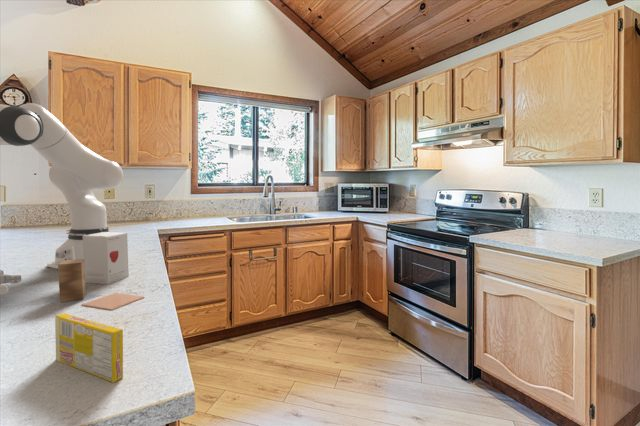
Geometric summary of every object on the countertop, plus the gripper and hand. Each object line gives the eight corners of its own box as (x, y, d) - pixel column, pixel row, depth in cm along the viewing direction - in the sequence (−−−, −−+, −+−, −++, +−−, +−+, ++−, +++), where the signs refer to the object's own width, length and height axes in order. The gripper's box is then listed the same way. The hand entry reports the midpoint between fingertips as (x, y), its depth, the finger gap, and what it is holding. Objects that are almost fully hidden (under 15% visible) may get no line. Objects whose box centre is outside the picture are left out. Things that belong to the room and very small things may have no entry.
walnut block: (60, 302, 92) (57, 264, 91) (64, 296, 96) (62, 260, 95) (83, 299, 94) (81, 262, 93) (86, 294, 98) (84, 258, 97)
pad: (82, 306, 90) (81, 304, 90) (116, 294, 99) (116, 292, 99) (112, 311, 87) (111, 309, 87) (144, 298, 96) (144, 296, 96)
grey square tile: (44, 302, 92) (43, 301, 92) (77, 292, 101) (77, 291, 101) (69, 307, 89) (68, 306, 89) (101, 296, 98) (101, 295, 98)
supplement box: (108, 285, 108) (106, 236, 107) (83, 283, 110) (81, 235, 109) (130, 277, 117) (128, 232, 116) (106, 275, 119) (104, 231, 118)
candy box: (125, 377, 58) (123, 328, 57) (113, 384, 56) (110, 333, 56) (67, 355, 65) (65, 311, 65) (54, 360, 63) (52, 315, 63)
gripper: (-88, 289, 74) (-2, 281, 80) (-42, 267, 92) (25, 262, 98) (-86, 319, 74) (0, 309, 80) (-40, 291, 92) (27, 285, 98)
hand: (14, 283), depth 89 cm, fingers open, 8 cm apart
